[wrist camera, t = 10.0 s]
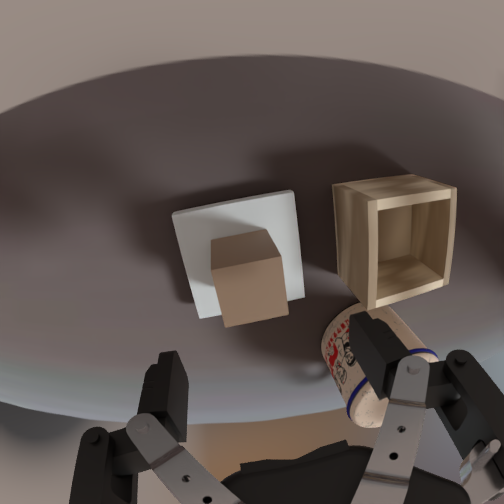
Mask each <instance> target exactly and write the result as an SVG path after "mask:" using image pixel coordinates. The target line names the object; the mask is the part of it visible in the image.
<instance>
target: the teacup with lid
mask: <svg viewBox="0 0 504 504" xmlns="http://www.w3.org/2000/svg"><path fill="white" fill-rule="evenodd" d="M362 311H367V310H366V308H365V307H364V306H363V305H362V303H361V302H360V303H357V304H355V305H352V306H350V307H349V308H347V309H345V310H344V311H342V312H341V313H340V314H339V315H337V316H336V317H335V318H334V320H333V321H332V322H331V323H330V324H329V326H328V327H327V329H326V331H325V333H324V335H323V338H322V343H321V351H322V355H323V357H324V359H325V361H326V363H327V365H328V368H329V370H330V372H331V374H332V376H333V378H334V380H335V382H336V384H337V387H338V389H339V391H340V393H341V395H342V397H343V399H344V401H345V403H346V406H347V415H348V417H349V418H350V419H351V420H352V421H353V422H354V423H355V424H357V425H359V426H361V427H367V428H374V427H380V426H381V425H382V422H383V419H384V416H385V412H386V409H387V405H388V402H389V400H388V398H384V399H381V400H379V399H378V397H377V395H376V393H375V392H374V390H373V388H372V386H371V385H370V383H369V381H368V379H367V378H366V376H365V374H364V372H363V371H362V369H361V367H360V365H359V364H358V362H357V360H356V359H355V357H354V355H353V353H352V352H351V349H350V346H349V317H350V315H351V314H355V313H358V312H362ZM367 312H368V314H369V315H370V316H371V318H372V319H376V318H379V319H381V320H382V321H384V322H386V323H387V324H388V325H389V326H390V328H391V329H392V331H394V333H395V334H396V336H398V338H399V339H400V340H401V341H402V343H403V344H404V345H405V346H406V348H407V349H408V350H409V351H410V353H411V354H412V355H415V356H420V357H422V358H424V359H425V360H426V361H427V362H438V361H439V360H438V357H437V355H436V354H435V353H434V352H433V351H432V350H430V349H427V348H426V346H425V345H424V344H423V343H422V342H421V341H420V340H419V338H418V337H417V336H416V335H415V334H414V333H413V332H412V331H411V329H410V328H409V327H408V326H407V325H406V324H405V323H404V322H403V321H402V319H401V318H400V317H399V316H398V315H397V314H396V313H395V312H394V311H393V310H392V308H391V307H390V306H388V305H384V306H381V307H378V308H375V309H371V310H368V311H367Z"/></svg>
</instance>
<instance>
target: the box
mask: <svg viewBox="0 0 504 504" xmlns="http://www.w3.org/2000/svg"><path fill="white" fill-rule="evenodd" d="M332 194H333V205H334V218H335V232H336V249H337V271H338V276H339V277H340V278H341V279H342V280H343V282H344V283H345V284H346V285H347V286H348V288H349V289H350V290H351V291H352V292H353V294H354V295H355V296H356V297H357V298H358V300H359V301H360V302H361V303H362V305H363V306H364V307H365V308H366V310H367V311H368V310H371V309H375V308H378V307H381V306H384V305H388V304H391V303H394V302H397V301H400V300H403V299H407V298H410V297H413V296H416V295H419V294H422V293H424V292H427V291H430V290H433V289H436V288H439V287H442V286H444V285H447V284H448V283H449V277H450V270H451V262H452V254H453V245H454V235H455V222H456V204H457V188H456V187H453V186H450V185H447V184H444V183H440V182H437V181H434V180H431V179H427V178H424V177H421V176H417V175H414V174H408V175H399V176H390V177H382V178H374V179H367V180H359V181H352V182H345V183H338V184H332Z"/></svg>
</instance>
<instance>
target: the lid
mask: <svg viewBox="0 0 504 504" xmlns="http://www.w3.org/2000/svg"><path fill="white" fill-rule="evenodd" d="M172 220H173V224H174V228H175V232H176V236H177V239H178V243H179V247H180V251H181V255H182V258H183V262H184V266H185V270H186V273H187V277H188V280H189V284H190V287H191V291H192V294H193V298H194V301H195V304H196V308H197V311H198V314H199V318H200V319H201V318H206V317H212V316H217V315H222V317H223V321H224V325H225V328H226V327H231V326H236V325H241V324H246V323H251V322H256V321H261V320H266V319H271V318H275V317H280V316H284V315H289V312H288V303H287V301H291V300H295V299H300V298H304V297H305V293H304V281H303V271H302V260H301V250H300V241H299V232H298V223H297V214H296V206H295V198H294V192H293V191H292V190H285V191H279V192H273V193H267V194H261V195H256V196H250V197H245V198H240V199H234V200H229V201H224V202H219V203H214V204H209V205H204V206H199V207H194V208H190V209H185V210H180V211H176V212H173V214H172Z"/></svg>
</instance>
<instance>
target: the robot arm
mask: <svg viewBox="0 0 504 504" xmlns="http://www.w3.org/2000/svg"><path fill="white" fill-rule="evenodd" d="M349 346H350V349H351V352H352V353H353V355H354V357H355V359H356V360H357V362H358V364H359V365H360V367H361V369H362V371H363V372H364V374H365V376H366V378H367V379H368V381H369V383H370V385H371V386H372V388H373V390H374V392H375V393H376V395H377V397H378V399H379V400H381V399H384V398H388V400H389V402H388V405H387V409H386V412H385V416H384V419H383V422H382V425H381V428H380V432H379V435H378V437H377V441H376V443H375V446H374V448H370V447H366V446H354V445H353V446H348V443H347V441H346V440H343V441H340V442H336V443H333V444H330V445H327V446H323V447H320V448H318V449H316V450H314V451H312V452H310V453H308V454H306V455H304V456H302V457H300V458H298V459H294V460H270V459H269V460H268V459H266V460H261V461H255V462H248V463H241V464H240V467H241V470H240V471H238V472H235V473H233V474H231V475H230V476H228V477H226V478H225V479H224V480H223V481H221V482H219V481H218V480H217V479H216V478H215V477H214V476H213V475H212V474H210V473H209V472H208V471H207V470H206V469H205V468H204V467H203V466H202V465H201V464H200V463H199V462H198V461H197V460H196V459H195V458H194V457H193V456H192V455H191V454H190V453H189V452H188V451H187V450H186V449H185V448H184V447H183V446H180V445H179V444H178V442H186V436H187V410H188V389H189V383H188V377H187V374H186V372H185V369H184V367H183V364H182V362H181V360H180V357H179V355H178V353H177V351H168V352H161V353H160V354H159V358H158V364H153V365H151V366H150V367H149V369H148V370H147V372H146V373H145V378H144V383H143V387H142V389H143V390H142V392H141V397H140V402H139V407H138V412H137V415H136V416H134V417H132V418H131V419H130V420H129V421H128V423H127V426H126V427H125V428H123V429H120V430H117V431H113V432H110V433H108V432H107V431H106V430H105V429H104V428H102V427H93V428H90V429H88V430H87V431H86V432H85V433H84V434H83V436H82V438H81V442H80V446H79V451H78V455H77V460H76V466H75V471H74V476H73V481H72V487H71V494H70V500H69V504H137V489H138V473H139V472H143V471H146V470H149V469H152V470H153V471H154V473H155V474H156V475H157V476H158V478H159V479H160V480H161V481H162V482H163V484H164V485H165V486H166V487H167V488H168V490H169V491H170V492H171V493H172V494H173V495H174V497H175V498H176V499H177V500H178V501H179V502H180V503H181V504H483V503H484V502H486V501H487V500H495V499H497V498H498V497H500V496H501V495H502V494H504V395H503V393H502V392H501V391H500V389H499V388H498V387H497V386H496V384H495V383H494V382H493V381H492V379H491V378H490V377H489V375H488V374H487V373H486V372H485V370H484V369H483V368H482V367H481V365H480V364H479V363H478V362H477V361H476V359H475V358H474V357H473V356H472V355H471V354H470V353H469V352H467V351H465V350H454V351H451V352H450V353H449V354H448V355H447V357H446V360H445V361H438V362H427V361H426V360H425V359H424V358H422V357H420V356H415V355H412V354H411V353H410V351H409V350H408V349H407V348H406V346H405V345H404V344H403V343H402V341H401V340H400V339H399V338H398V336H396V334H395V333H394V331H392V329H391V328H390V326H389V325H388V324H387V323H386V322H384V321H382V320H381V319H379V318H376V319H372V318H371V316H370V315H369V314H368V312H367V311H362V312H358V313H355V314H351V315H350V317H349ZM428 408H434V409H435V410H436V412H437V414H438V416H439V417H440V419H441V421H442V422H443V424H444V426H445V428H446V430H447V431H448V433H449V435H450V437H451V438H452V440H453V442H454V444H455V446H456V447H457V449H458V451H459V453H460V455H461V457H462V459H463V462H462V463H461V465H460V470H459V473H460V477H461V485H460V484H458V483H456V482H453V481H451V480H448V479H445V478H442V477H440V476H437V475H434V474H432V473H429V472H427V471H424V470H422V469H419V468H417V467H414V466H413V465H414V461H415V457H416V454H417V449H418V445H419V441H420V436H421V432H422V427H423V422H424V416H425V411H426V409H428Z"/></svg>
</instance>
